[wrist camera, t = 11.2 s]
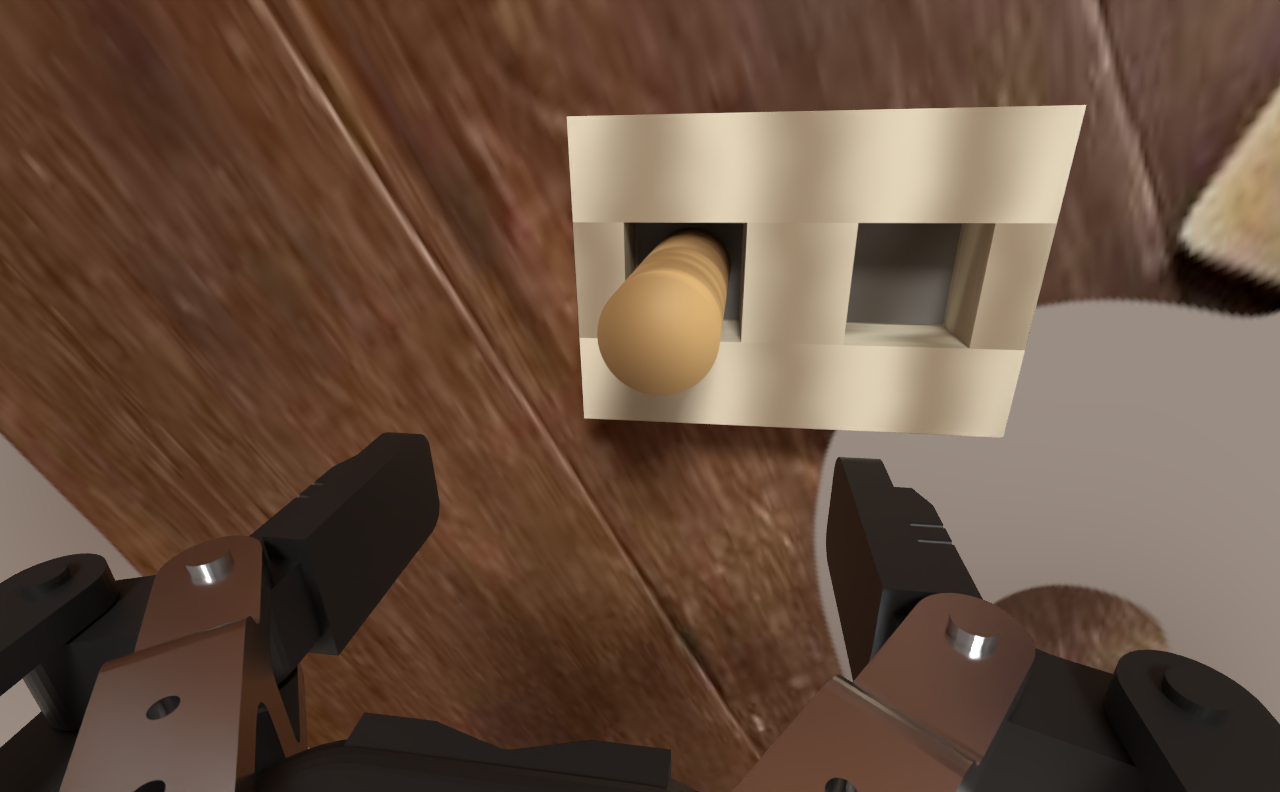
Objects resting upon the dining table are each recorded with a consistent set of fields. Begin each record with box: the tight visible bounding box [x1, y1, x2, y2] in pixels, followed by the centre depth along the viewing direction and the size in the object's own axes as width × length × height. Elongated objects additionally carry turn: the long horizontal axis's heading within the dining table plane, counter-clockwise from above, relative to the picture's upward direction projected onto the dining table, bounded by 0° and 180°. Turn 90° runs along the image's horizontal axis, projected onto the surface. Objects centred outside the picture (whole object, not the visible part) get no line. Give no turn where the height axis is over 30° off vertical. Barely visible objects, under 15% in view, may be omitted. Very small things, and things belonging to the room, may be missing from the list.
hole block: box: [567, 105, 1086, 438], centre depth 29 cm, size 20×14×4 cm
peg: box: [597, 227, 731, 395], centre depth 25 cm, size 4×4×12 cm
